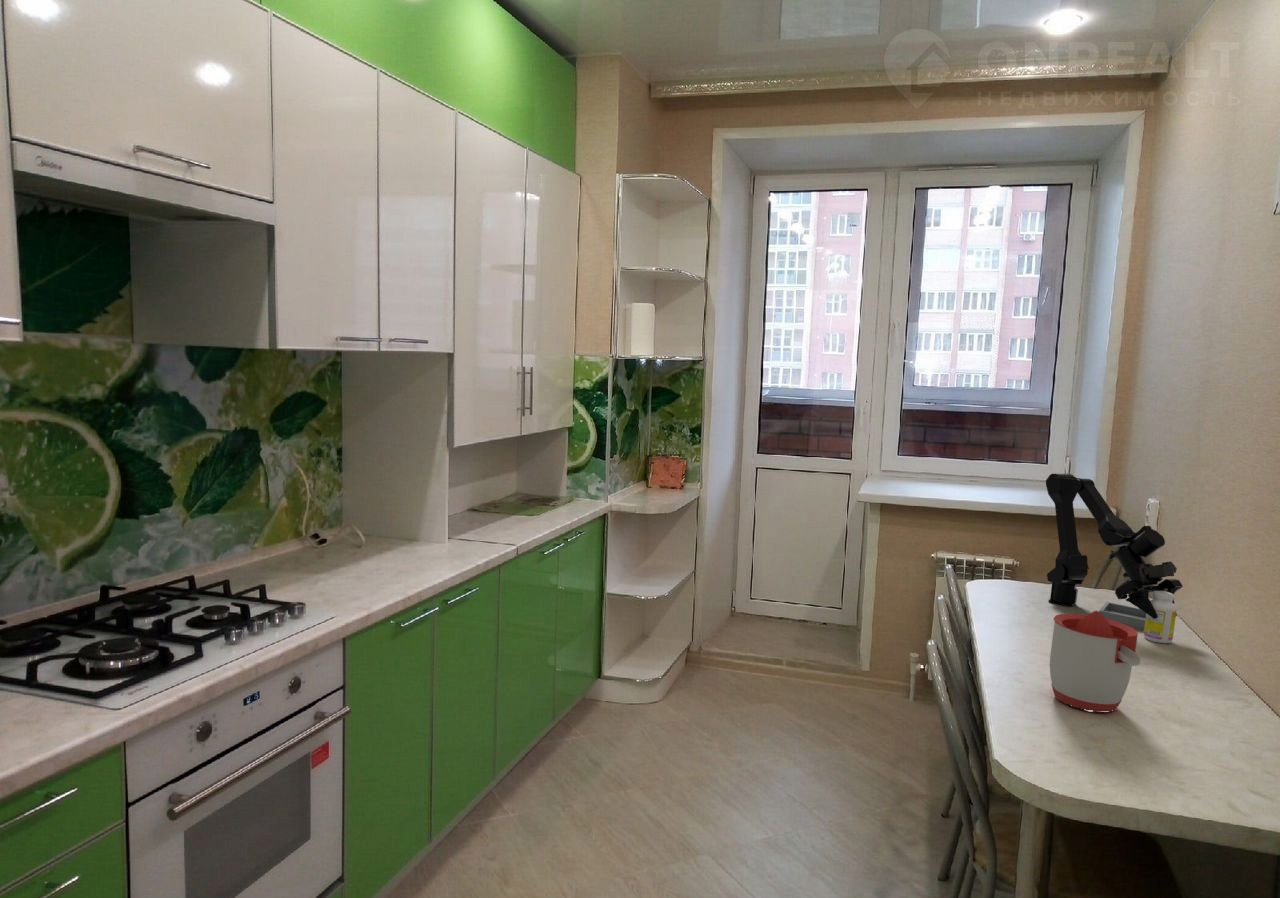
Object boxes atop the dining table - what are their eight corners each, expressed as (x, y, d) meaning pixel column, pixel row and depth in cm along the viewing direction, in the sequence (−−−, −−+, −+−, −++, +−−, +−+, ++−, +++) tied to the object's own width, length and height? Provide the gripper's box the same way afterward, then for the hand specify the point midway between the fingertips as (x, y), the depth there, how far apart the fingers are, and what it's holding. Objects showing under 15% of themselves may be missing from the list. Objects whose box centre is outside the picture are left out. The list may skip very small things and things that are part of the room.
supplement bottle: (1164, 637, 231) (1171, 590, 229) (1177, 645, 224) (1184, 597, 223) (1138, 634, 231) (1144, 588, 230) (1150, 642, 225) (1157, 595, 223)
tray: (1097, 620, 242) (1099, 610, 242) (1105, 611, 252) (1106, 601, 252) (1149, 631, 235) (1150, 621, 234) (1154, 622, 245) (1156, 611, 245)
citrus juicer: (1103, 727, 168) (1116, 628, 166) (1027, 693, 184) (1039, 602, 181) (1151, 716, 176) (1165, 621, 173) (1075, 684, 191) (1086, 597, 188)
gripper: (1130, 551, 226) (1162, 604, 217) (1181, 550, 232) (1214, 601, 223) (1101, 572, 234) (1131, 624, 225) (1151, 570, 240) (1182, 621, 231)
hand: (1165, 617), depth 226 cm, fingers closed on supplement bottle, 7 cm apart
